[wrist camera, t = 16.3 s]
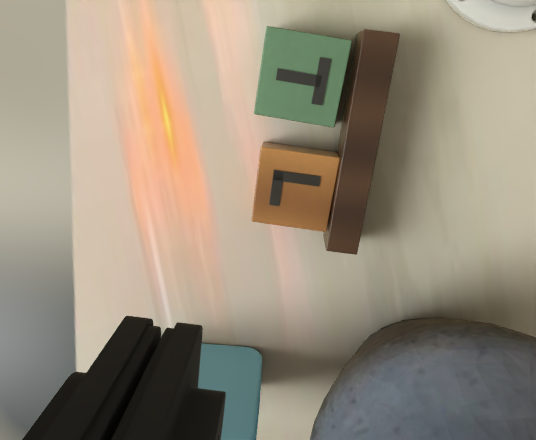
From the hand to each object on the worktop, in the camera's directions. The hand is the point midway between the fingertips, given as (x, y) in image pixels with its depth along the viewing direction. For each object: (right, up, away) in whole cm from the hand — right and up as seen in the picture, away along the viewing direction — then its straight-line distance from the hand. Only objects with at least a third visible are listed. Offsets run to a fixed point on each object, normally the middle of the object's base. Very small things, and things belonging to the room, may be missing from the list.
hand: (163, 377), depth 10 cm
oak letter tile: (+5, +7, +26) cm, 27 cm away
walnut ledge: (+9, +10, +25) cm, 28 cm away
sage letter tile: (+5, +14, +24) cm, 28 cm away
